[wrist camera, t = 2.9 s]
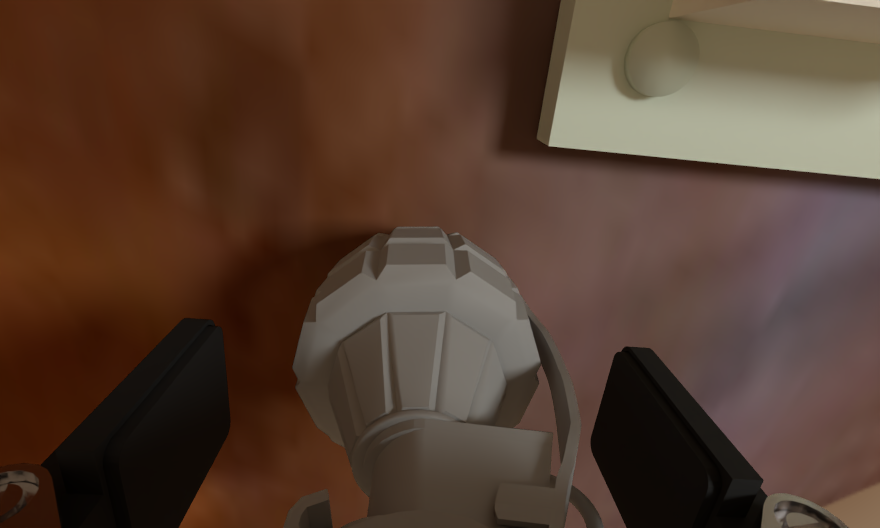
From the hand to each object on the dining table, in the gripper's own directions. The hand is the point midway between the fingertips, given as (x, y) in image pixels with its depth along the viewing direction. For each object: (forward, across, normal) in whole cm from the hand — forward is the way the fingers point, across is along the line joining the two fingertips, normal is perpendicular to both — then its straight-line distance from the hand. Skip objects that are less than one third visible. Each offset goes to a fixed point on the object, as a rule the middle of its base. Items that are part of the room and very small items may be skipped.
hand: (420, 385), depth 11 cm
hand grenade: (+6, 0, 0) cm, 6 cm away
